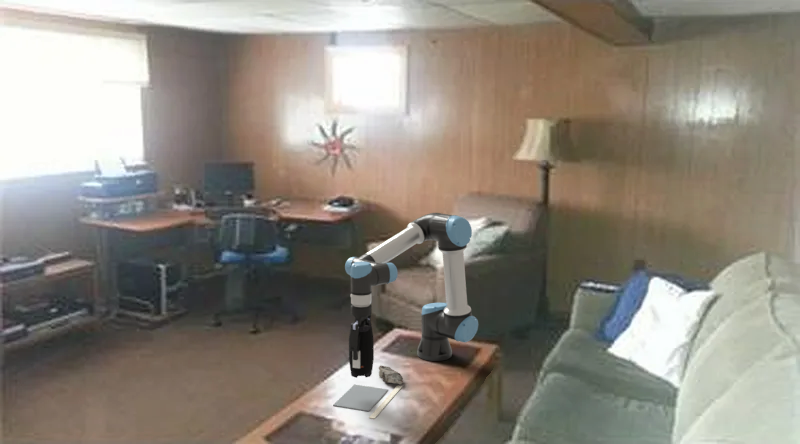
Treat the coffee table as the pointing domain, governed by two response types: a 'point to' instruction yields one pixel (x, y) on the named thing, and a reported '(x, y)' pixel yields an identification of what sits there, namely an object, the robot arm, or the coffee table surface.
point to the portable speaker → (363, 352)
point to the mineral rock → (390, 375)
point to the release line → (385, 402)
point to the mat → (361, 397)
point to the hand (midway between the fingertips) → (361, 363)
